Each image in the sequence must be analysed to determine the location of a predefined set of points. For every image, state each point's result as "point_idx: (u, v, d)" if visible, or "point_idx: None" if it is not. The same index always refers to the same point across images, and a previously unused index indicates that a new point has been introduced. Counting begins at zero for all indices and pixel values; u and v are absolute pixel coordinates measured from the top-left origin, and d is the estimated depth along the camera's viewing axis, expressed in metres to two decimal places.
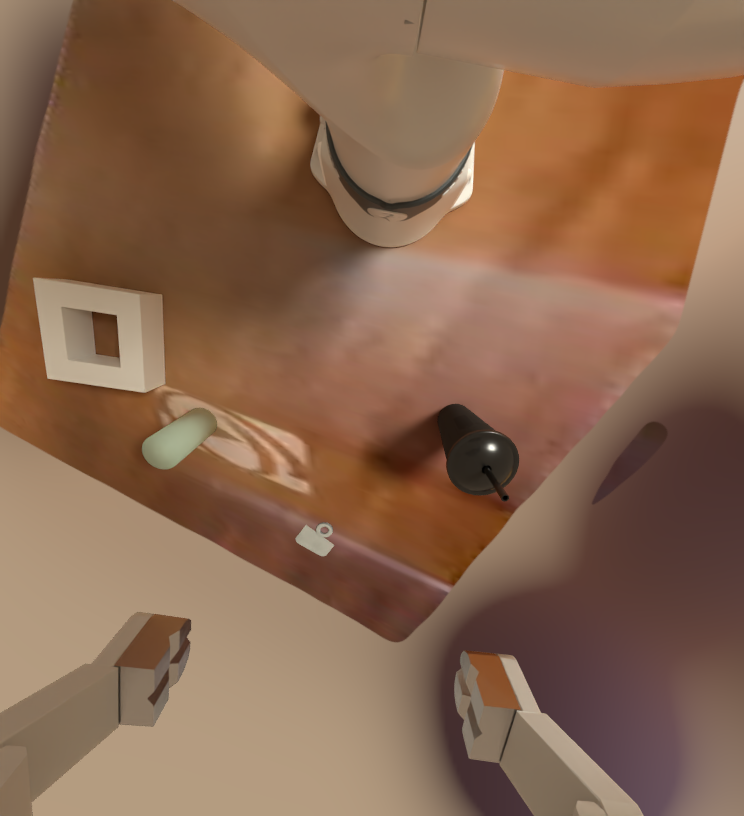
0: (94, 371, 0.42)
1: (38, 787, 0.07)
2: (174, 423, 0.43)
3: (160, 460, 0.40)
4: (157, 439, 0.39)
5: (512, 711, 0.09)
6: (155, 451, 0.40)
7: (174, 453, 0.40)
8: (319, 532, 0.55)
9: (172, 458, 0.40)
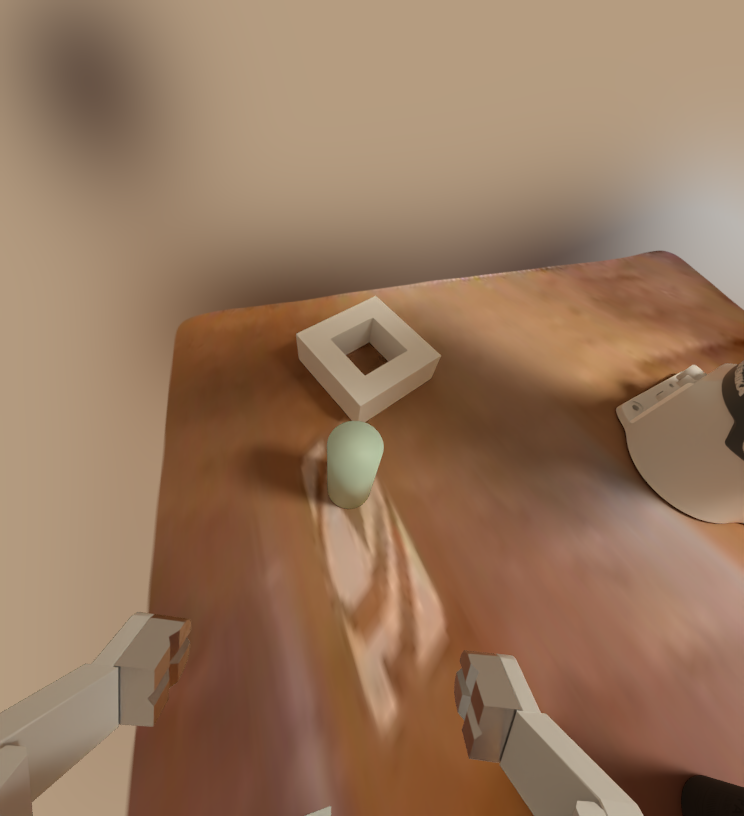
0: (339, 360, 0.38)
1: (38, 787, 0.07)
2: None
3: (343, 452, 0.26)
4: (368, 431, 0.27)
5: (512, 711, 0.09)
6: (350, 438, 0.27)
7: (369, 459, 0.26)
8: None
9: (360, 462, 0.26)
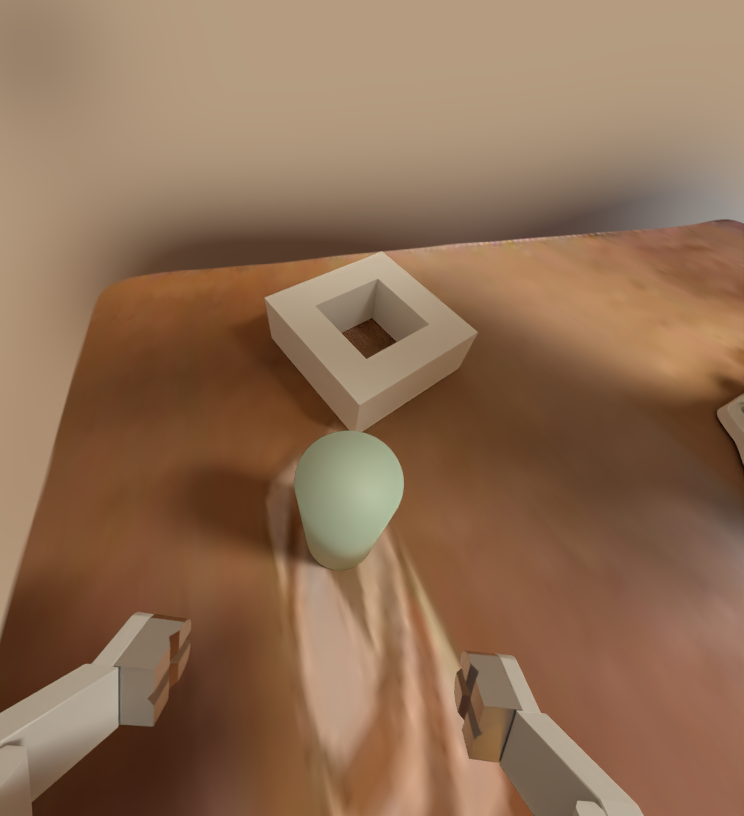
0: (328, 335, 0.25)
1: (38, 787, 0.07)
2: None
3: (326, 492, 0.13)
4: (375, 450, 0.15)
5: (512, 710, 0.09)
6: (340, 464, 0.14)
7: (376, 507, 0.13)
8: None
9: (358, 513, 0.13)
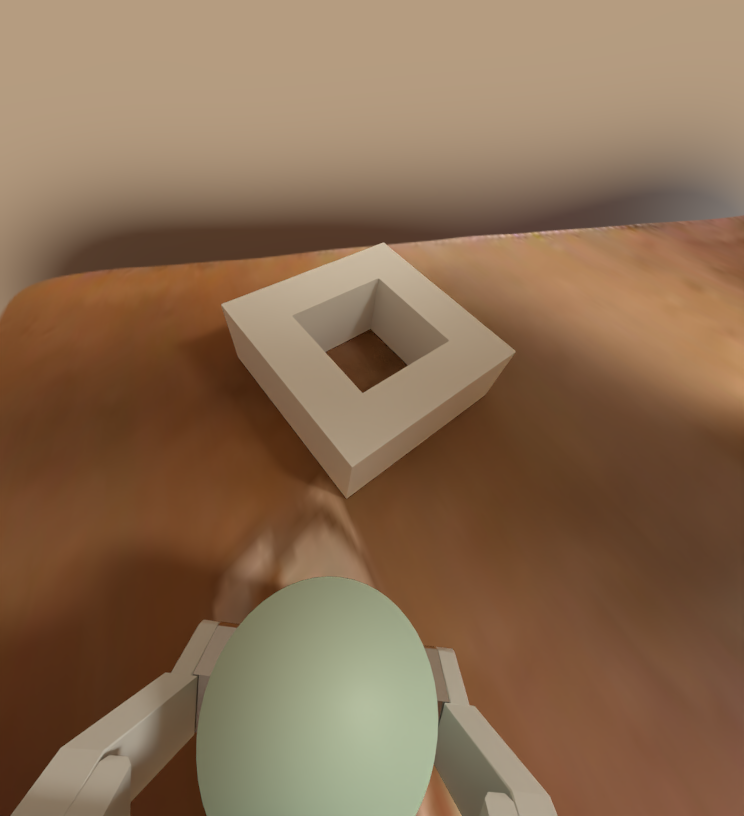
0: (308, 358, 0.18)
1: None
2: None
3: (269, 752, 0.06)
4: (377, 624, 0.07)
5: (442, 703, 0.09)
6: (304, 668, 0.07)
7: (381, 791, 0.06)
8: None
9: (339, 814, 0.06)
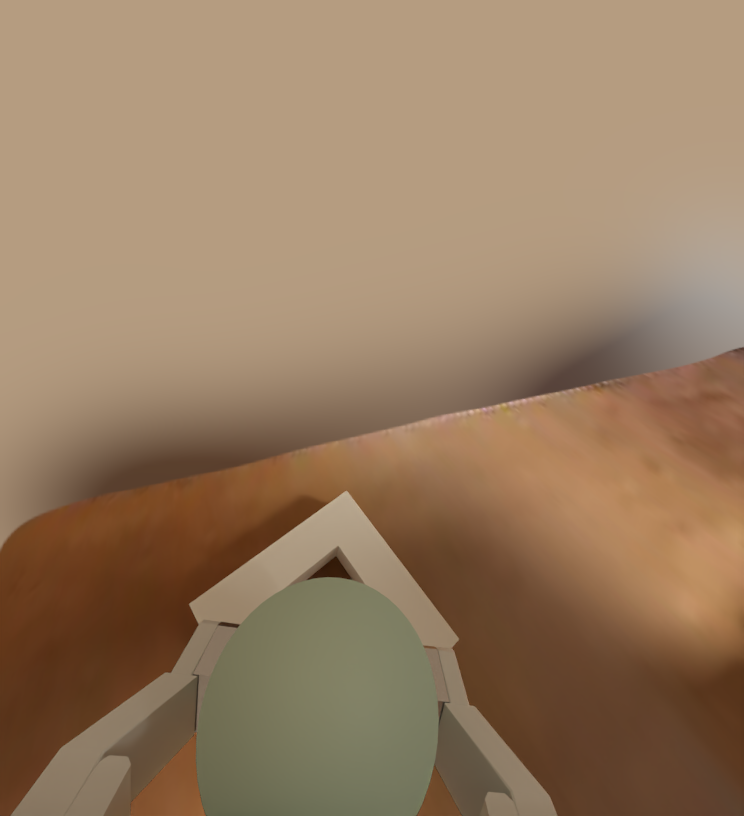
0: None
1: None
2: None
3: (269, 754, 0.06)
4: (377, 625, 0.07)
5: (442, 703, 0.09)
6: (305, 669, 0.07)
7: (381, 793, 0.06)
8: None
9: None
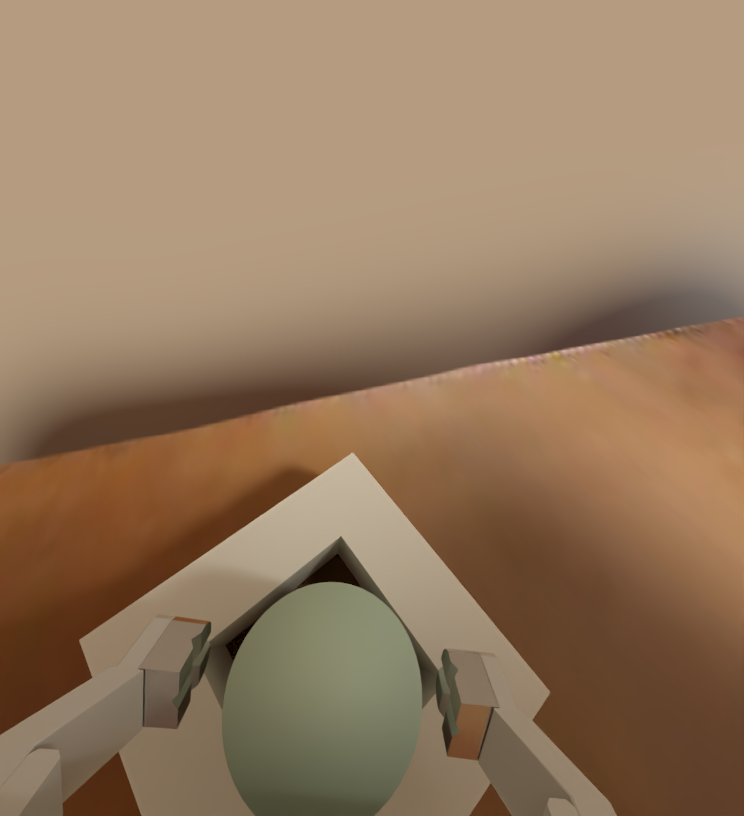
0: (209, 773, 0.11)
1: (67, 790, 0.07)
2: None
3: (281, 728, 0.07)
4: (371, 623, 0.08)
5: (490, 708, 0.09)
6: (310, 659, 0.08)
7: (373, 760, 0.07)
8: None
9: (339, 778, 0.07)
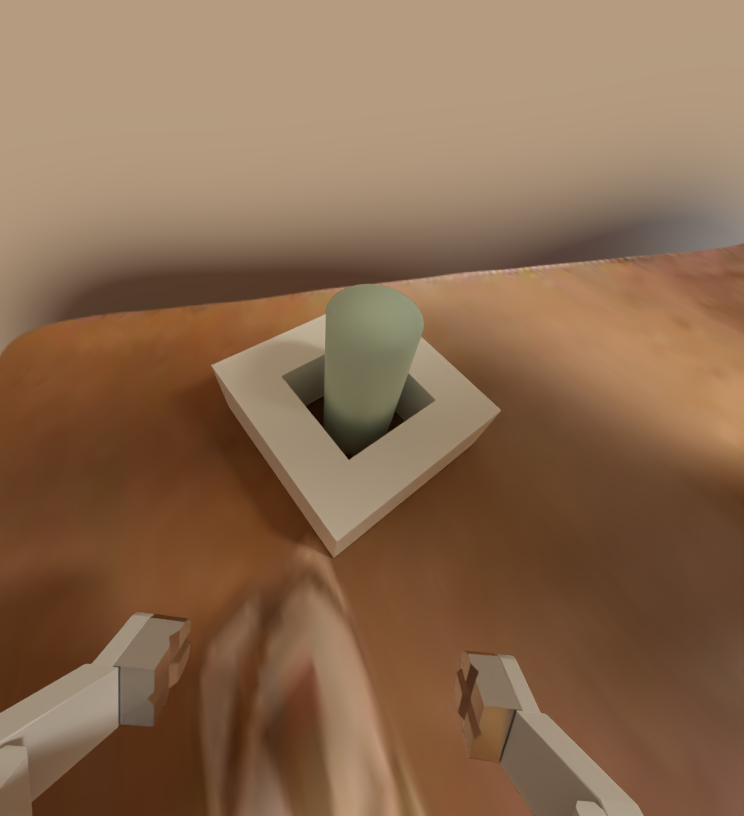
0: (296, 423, 0.18)
1: (38, 787, 0.07)
2: None
3: (355, 324, 0.15)
4: (397, 299, 0.16)
5: (512, 711, 0.09)
6: (366, 306, 0.15)
7: (400, 337, 0.15)
8: None
9: (384, 340, 0.14)
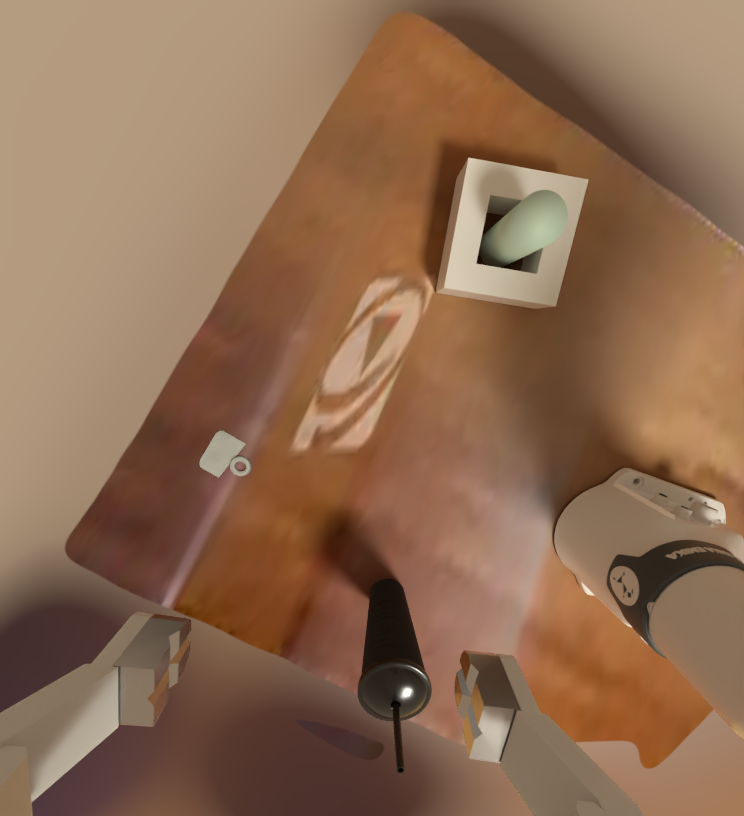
0: (473, 227, 0.34)
1: (38, 787, 0.07)
2: None
3: (529, 215, 0.29)
4: (561, 217, 0.29)
5: (512, 711, 0.09)
6: (544, 209, 0.29)
7: (538, 238, 0.29)
8: (236, 461, 0.44)
9: (531, 234, 0.29)
